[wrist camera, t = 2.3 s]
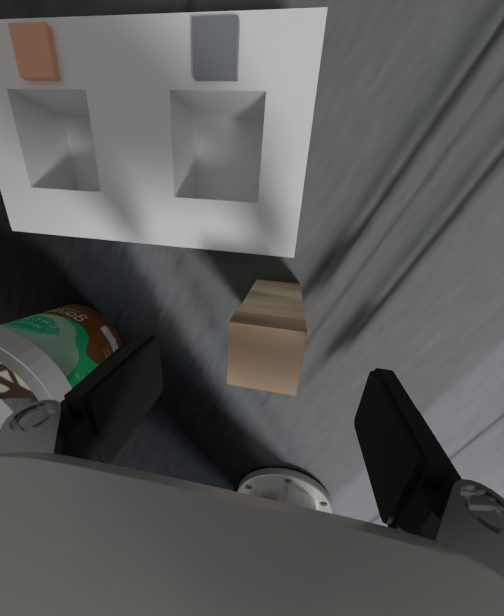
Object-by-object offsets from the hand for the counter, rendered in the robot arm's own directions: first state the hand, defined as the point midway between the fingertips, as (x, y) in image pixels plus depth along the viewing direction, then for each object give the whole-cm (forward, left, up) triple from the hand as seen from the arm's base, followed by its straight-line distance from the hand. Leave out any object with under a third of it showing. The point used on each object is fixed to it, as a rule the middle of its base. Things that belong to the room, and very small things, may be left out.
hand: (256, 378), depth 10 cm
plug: (-1, 0, -13) cm, 13 cm away
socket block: (+10, +10, -13) cm, 19 cm away
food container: (-6, +22, -13) cm, 26 cm away
